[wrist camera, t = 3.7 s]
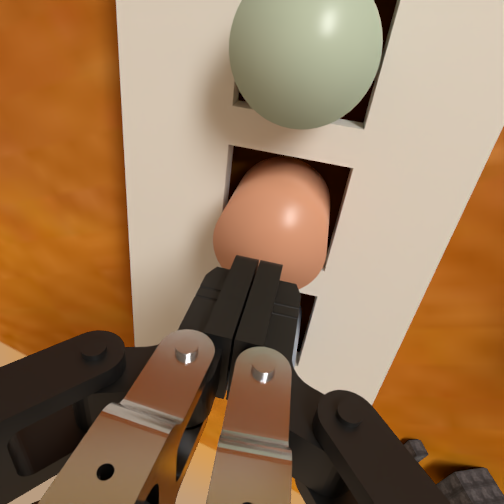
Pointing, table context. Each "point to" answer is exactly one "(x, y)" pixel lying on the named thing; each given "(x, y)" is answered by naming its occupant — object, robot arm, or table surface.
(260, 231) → the terracotta button
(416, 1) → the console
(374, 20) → the pale green rounded piece
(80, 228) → the table surface
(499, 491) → the building blocks
